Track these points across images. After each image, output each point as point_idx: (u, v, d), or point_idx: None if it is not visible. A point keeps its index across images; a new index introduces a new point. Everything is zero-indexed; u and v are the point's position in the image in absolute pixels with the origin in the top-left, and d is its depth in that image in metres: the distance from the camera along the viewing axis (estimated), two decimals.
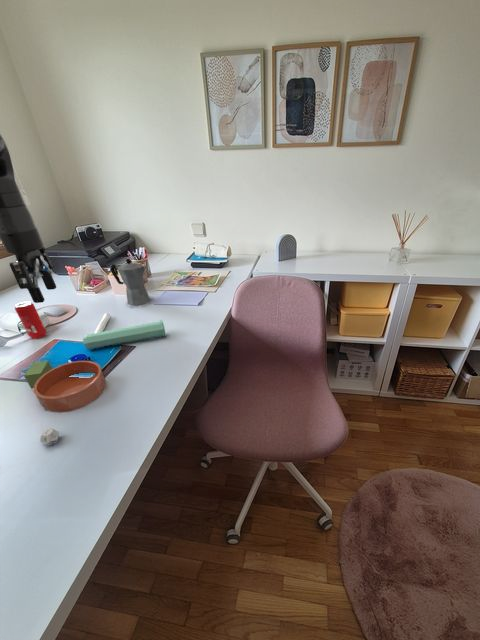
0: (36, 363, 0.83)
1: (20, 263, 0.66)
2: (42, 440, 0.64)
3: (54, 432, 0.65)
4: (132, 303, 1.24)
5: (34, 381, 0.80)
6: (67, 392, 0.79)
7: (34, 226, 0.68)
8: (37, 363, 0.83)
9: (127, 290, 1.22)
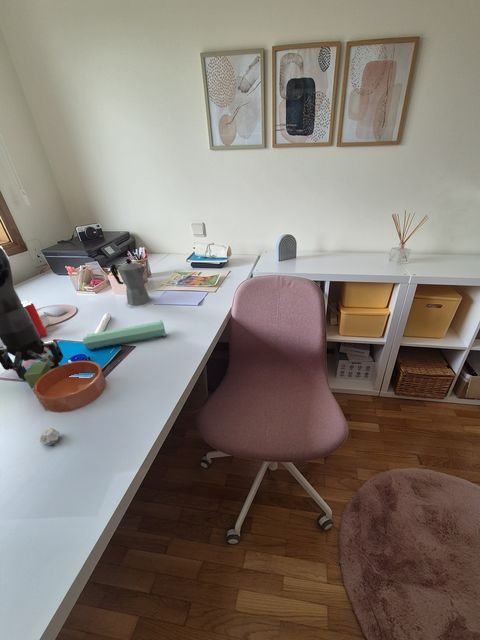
0: (36, 363, 0.83)
1: None
2: (42, 440, 0.64)
3: (54, 432, 0.65)
4: (132, 303, 1.24)
5: (34, 381, 0.80)
6: (67, 392, 0.79)
7: (7, 331, 0.71)
8: (37, 363, 0.83)
9: (127, 290, 1.22)
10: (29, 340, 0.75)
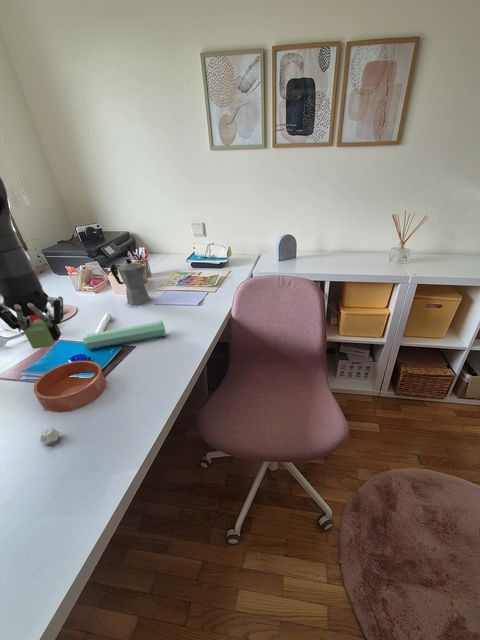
0: (39, 321, 0.71)
1: None
2: (42, 440, 0.64)
3: (54, 432, 0.65)
4: (132, 303, 1.24)
5: (36, 339, 0.69)
6: (67, 392, 0.79)
7: (3, 276, 0.60)
8: (40, 320, 0.71)
9: (127, 290, 1.22)
10: (30, 289, 0.63)
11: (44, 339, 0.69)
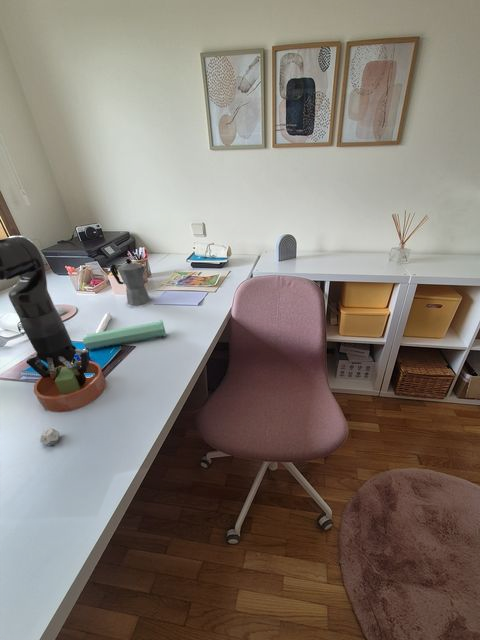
0: (66, 368, 0.78)
1: None
2: (42, 440, 0.64)
3: (54, 432, 0.65)
4: (132, 303, 1.24)
5: (65, 387, 0.75)
6: None
7: (39, 336, 0.66)
8: (67, 368, 0.78)
9: (127, 290, 1.22)
10: (61, 345, 0.70)
11: (71, 387, 0.76)
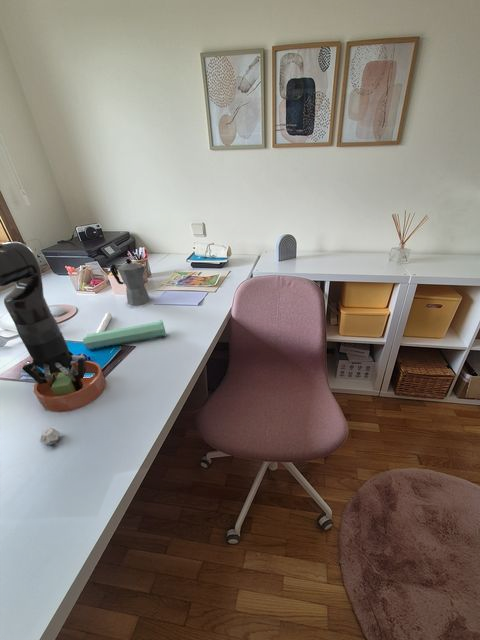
0: (63, 374, 0.77)
1: None
2: (42, 440, 0.64)
3: (54, 432, 0.65)
4: (132, 303, 1.24)
5: (61, 393, 0.75)
6: None
7: (35, 343, 0.66)
8: None
9: (127, 290, 1.22)
10: (58, 351, 0.69)
11: (68, 393, 0.75)
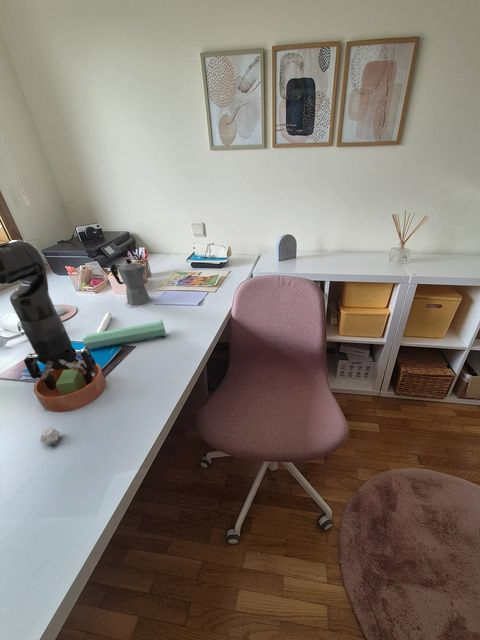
0: (67, 371, 0.79)
1: None
2: (42, 440, 0.64)
3: (54, 432, 0.65)
4: (132, 303, 1.24)
5: (66, 390, 0.76)
6: None
7: (40, 339, 0.67)
8: (68, 371, 0.79)
9: (127, 290, 1.22)
10: (62, 348, 0.70)
11: (72, 390, 0.76)
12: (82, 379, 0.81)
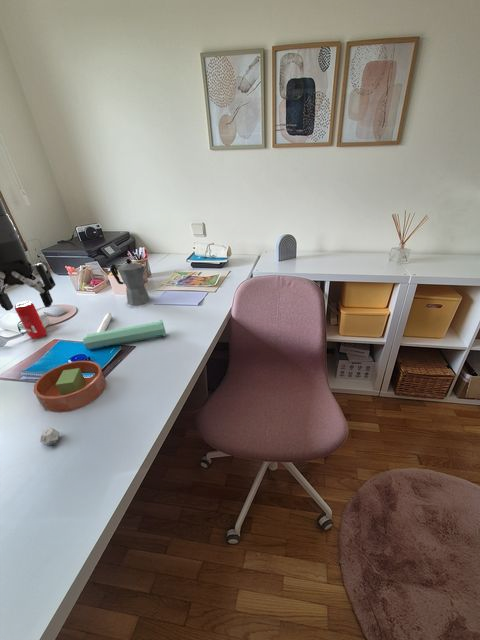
0: (67, 371, 0.79)
1: None
2: (42, 440, 0.64)
3: (54, 432, 0.65)
4: (132, 303, 1.24)
5: (66, 390, 0.76)
6: None
7: None
8: (68, 371, 0.79)
9: (127, 290, 1.22)
10: (14, 257, 0.65)
11: (72, 390, 0.76)
12: (82, 379, 0.81)
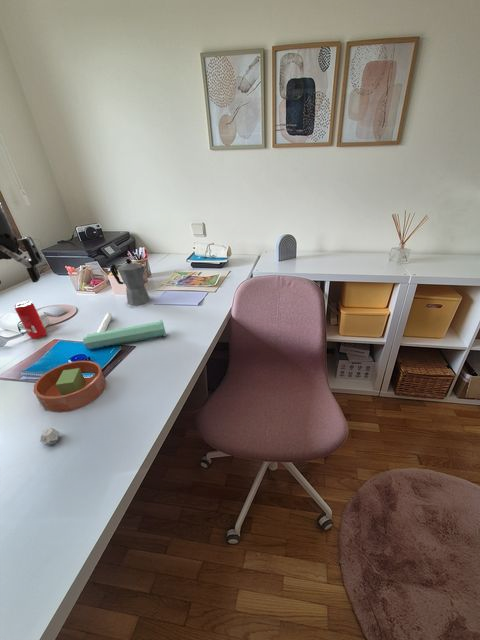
0: (67, 371, 0.79)
1: None
2: (42, 440, 0.64)
3: (54, 432, 0.65)
4: (132, 303, 1.24)
5: (66, 390, 0.76)
6: None
7: None
8: (68, 371, 0.79)
9: (127, 290, 1.22)
10: None
11: (72, 390, 0.76)
12: (82, 379, 0.81)
